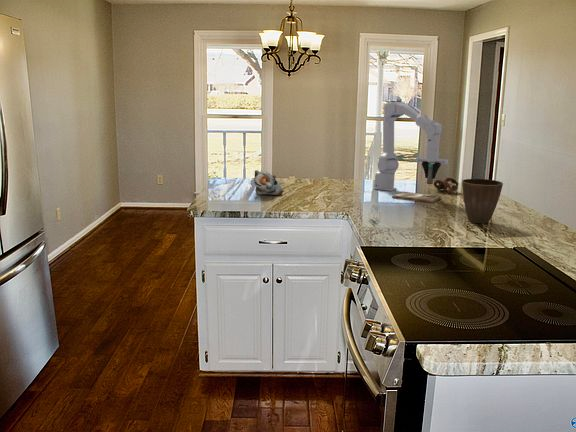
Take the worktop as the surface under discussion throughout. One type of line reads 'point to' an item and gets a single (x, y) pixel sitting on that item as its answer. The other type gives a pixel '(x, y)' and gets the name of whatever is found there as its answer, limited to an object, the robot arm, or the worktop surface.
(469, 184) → the plant pot
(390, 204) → the worktop surface
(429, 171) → the marker
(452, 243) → the worktop surface
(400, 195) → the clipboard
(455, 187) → the reddish-brown lumpy part
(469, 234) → the worktop surface
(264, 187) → the grey piece
